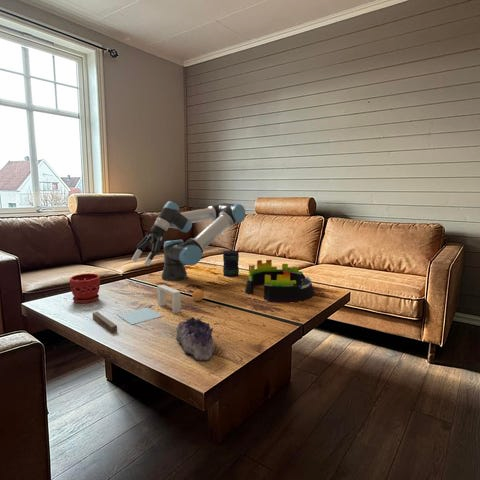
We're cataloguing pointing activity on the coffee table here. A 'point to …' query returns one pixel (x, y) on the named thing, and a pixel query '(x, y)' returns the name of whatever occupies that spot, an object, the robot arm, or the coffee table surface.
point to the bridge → (175, 297)
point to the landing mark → (139, 315)
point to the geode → (196, 339)
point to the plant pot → (85, 287)
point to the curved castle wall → (279, 283)
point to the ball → (198, 295)
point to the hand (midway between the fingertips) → (139, 262)
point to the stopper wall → (105, 322)
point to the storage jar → (230, 263)
